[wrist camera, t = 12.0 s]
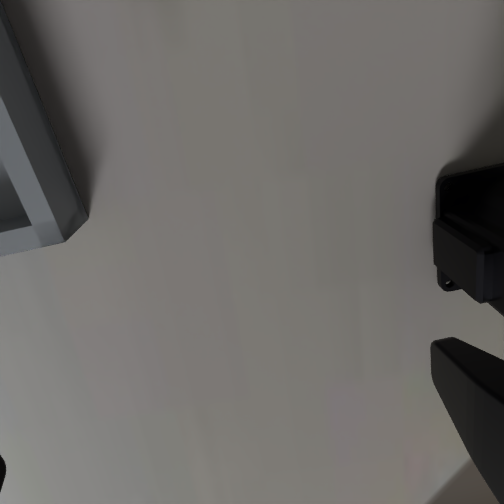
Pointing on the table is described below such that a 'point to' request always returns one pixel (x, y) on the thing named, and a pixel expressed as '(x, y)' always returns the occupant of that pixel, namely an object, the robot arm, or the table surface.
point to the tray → (30, 162)
